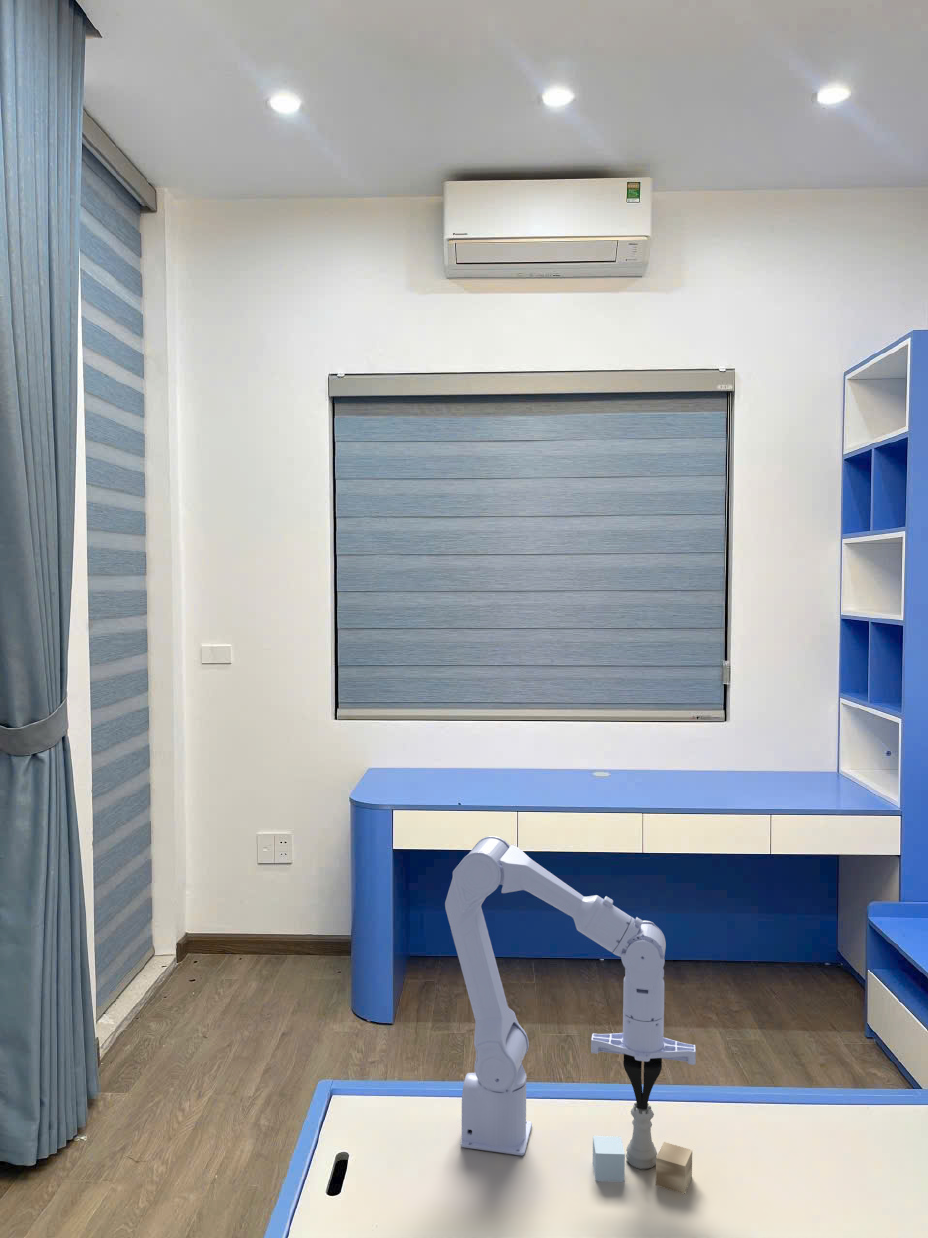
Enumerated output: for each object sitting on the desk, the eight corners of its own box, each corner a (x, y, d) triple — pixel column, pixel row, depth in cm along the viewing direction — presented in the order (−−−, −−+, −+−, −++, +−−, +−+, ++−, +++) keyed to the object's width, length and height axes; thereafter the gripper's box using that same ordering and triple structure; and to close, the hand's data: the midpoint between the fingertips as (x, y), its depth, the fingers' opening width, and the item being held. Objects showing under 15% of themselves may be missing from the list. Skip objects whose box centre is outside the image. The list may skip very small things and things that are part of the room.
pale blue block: (595, 1181, 127) (595, 1153, 127) (592, 1163, 131) (592, 1136, 131) (624, 1182, 127) (624, 1154, 127) (620, 1164, 131) (621, 1136, 131)
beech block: (655, 1186, 126) (656, 1157, 126) (663, 1169, 130) (663, 1142, 130) (684, 1195, 125) (685, 1166, 124) (691, 1178, 128) (692, 1150, 128)
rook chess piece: (657, 1173, 129) (658, 1117, 129) (625, 1169, 130) (625, 1113, 130) (657, 1153, 133) (658, 1099, 133) (626, 1149, 134) (626, 1096, 134)
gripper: (589, 1019, 128) (588, 1114, 129) (696, 1031, 125) (695, 1128, 126) (593, 997, 135) (592, 1087, 136) (695, 1007, 132) (694, 1100, 133)
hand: (642, 1105), depth 131 cm, fingers closed
